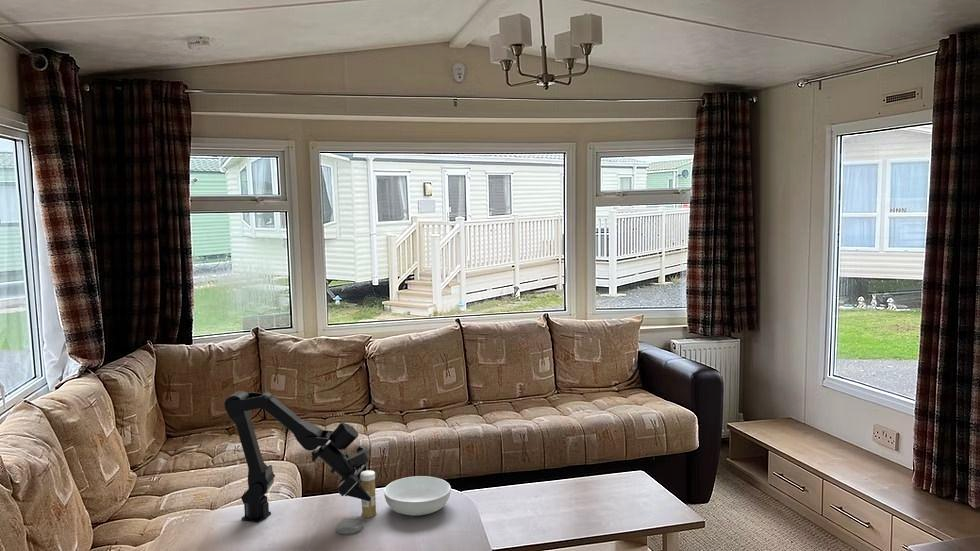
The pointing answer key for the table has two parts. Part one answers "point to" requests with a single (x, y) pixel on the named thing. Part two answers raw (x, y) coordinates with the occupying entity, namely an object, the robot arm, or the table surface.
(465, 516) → the table surface
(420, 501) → the serving bowl
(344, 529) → the coaster
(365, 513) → the sprinkles bottle
